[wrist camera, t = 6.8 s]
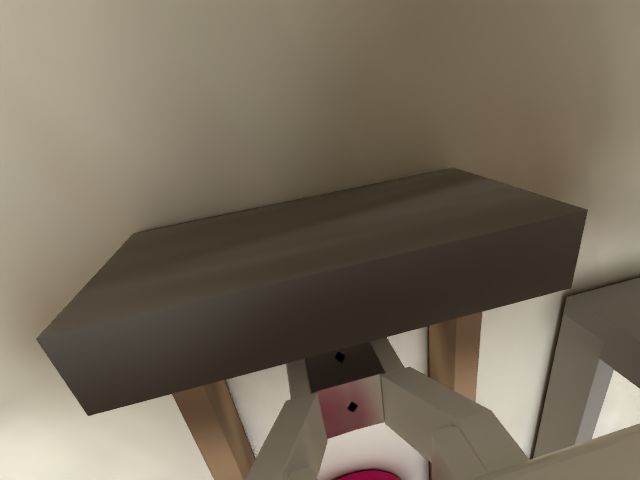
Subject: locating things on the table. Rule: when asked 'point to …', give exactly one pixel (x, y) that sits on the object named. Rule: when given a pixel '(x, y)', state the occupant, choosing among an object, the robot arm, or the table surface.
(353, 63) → the table surface
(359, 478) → the pepper mill
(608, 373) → the grey open rectangular frame
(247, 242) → the brown wooden rectangular frame
